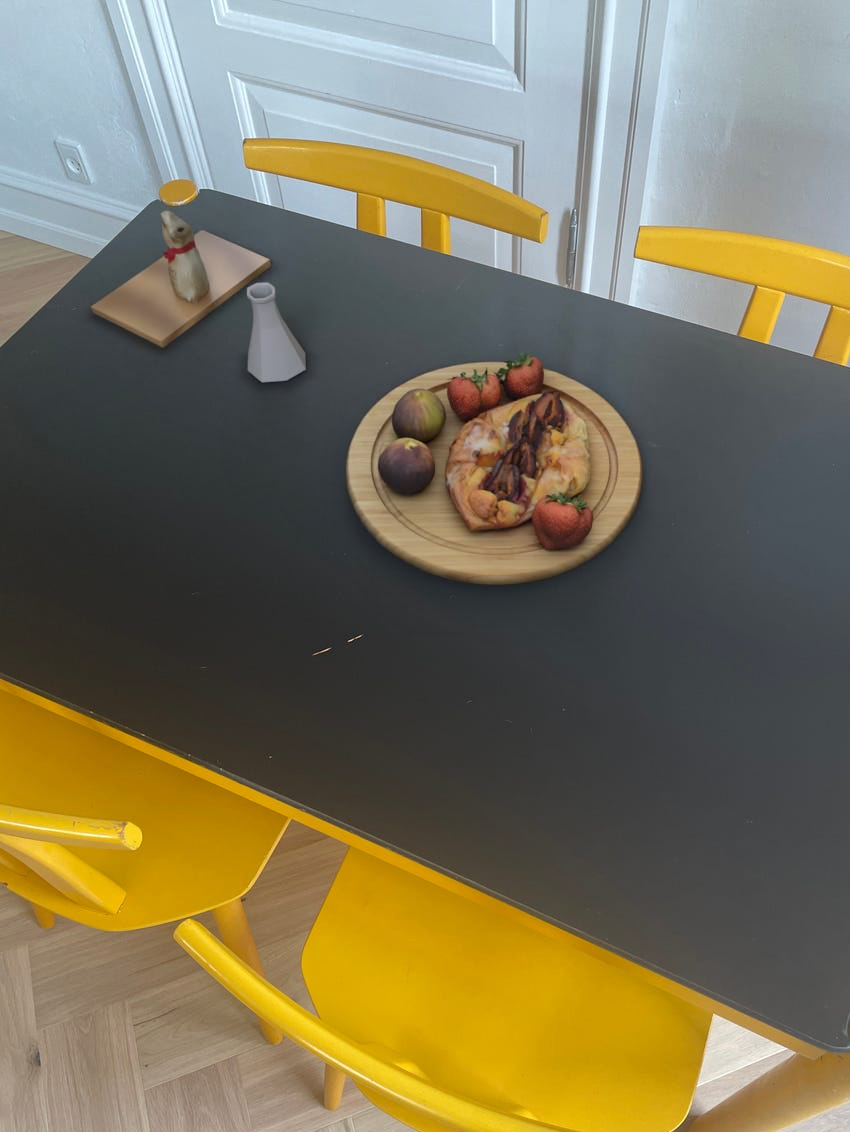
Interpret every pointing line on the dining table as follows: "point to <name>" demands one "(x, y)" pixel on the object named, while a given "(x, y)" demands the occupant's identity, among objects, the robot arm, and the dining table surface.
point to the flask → (271, 339)
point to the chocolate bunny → (183, 259)
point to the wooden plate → (494, 472)
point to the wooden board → (155, 304)
